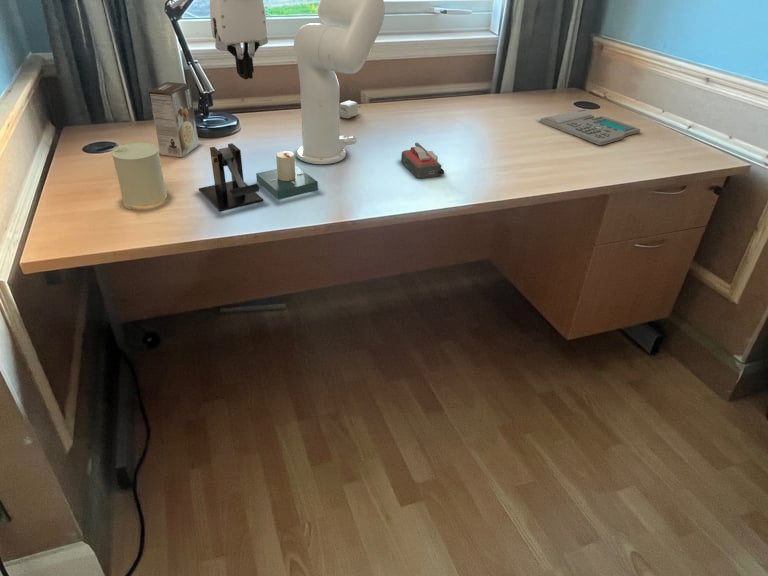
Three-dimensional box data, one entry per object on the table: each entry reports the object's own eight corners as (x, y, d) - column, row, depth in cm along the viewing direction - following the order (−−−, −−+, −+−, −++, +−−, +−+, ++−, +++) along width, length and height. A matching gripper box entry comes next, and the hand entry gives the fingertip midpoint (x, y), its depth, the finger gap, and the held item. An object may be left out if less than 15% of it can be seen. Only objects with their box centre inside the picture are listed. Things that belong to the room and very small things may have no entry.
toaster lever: (258, 193, 122) (259, 185, 120) (231, 199, 119) (232, 192, 117) (236, 153, 126) (237, 145, 124) (209, 158, 123) (209, 150, 121)
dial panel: (295, 176, 140) (294, 164, 138) (318, 193, 133) (317, 181, 131) (257, 185, 135) (255, 172, 134) (278, 203, 128) (277, 190, 126)
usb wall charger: (338, 116, 178) (338, 103, 176) (352, 110, 183) (352, 98, 180) (349, 119, 176) (349, 105, 174) (362, 113, 181) (362, 100, 178)
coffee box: (177, 142, 155) (166, 80, 146) (199, 145, 154) (190, 83, 145) (159, 155, 148) (147, 90, 139) (183, 158, 147) (172, 93, 138)
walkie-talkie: (451, 177, 143) (419, 148, 159) (453, 160, 141) (420, 132, 156) (418, 181, 141) (389, 151, 156) (420, 164, 138) (390, 135, 153)
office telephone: (540, 114, 179) (583, 104, 189) (539, 122, 181) (581, 112, 190) (602, 137, 164) (645, 125, 173) (600, 146, 165) (643, 134, 175)
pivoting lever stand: (263, 205, 127) (259, 153, 121) (219, 216, 122) (212, 163, 116) (241, 185, 135) (236, 135, 128) (199, 194, 130) (191, 143, 124)
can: (129, 191, 130) (118, 140, 123) (172, 191, 131) (162, 140, 124) (117, 211, 122) (104, 156, 116) (162, 210, 123) (152, 157, 116)
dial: (274, 175, 133) (273, 151, 130) (290, 172, 135) (289, 148, 131) (282, 182, 130) (280, 157, 127) (298, 178, 132) (297, 154, 129)
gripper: (261, -29, 114) (270, 67, 125) (187, -24, 107) (203, 78, 118) (279, -24, 110) (287, 76, 120) (203, -17, 102) (218, 88, 113)
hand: (246, 77), depth 119 cm, fingers closed
